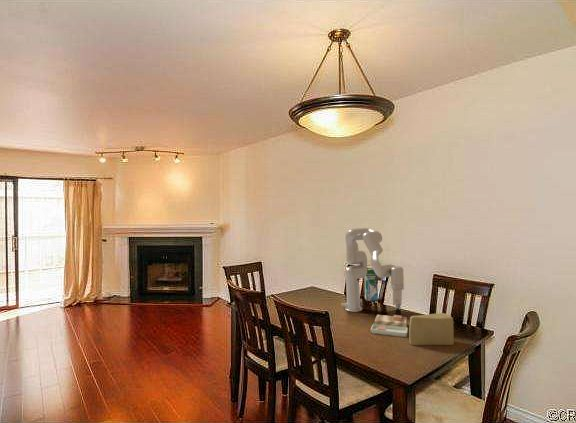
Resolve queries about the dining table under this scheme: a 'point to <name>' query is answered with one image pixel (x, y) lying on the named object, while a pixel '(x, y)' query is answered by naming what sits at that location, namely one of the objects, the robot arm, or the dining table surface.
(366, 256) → the robot arm
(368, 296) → the milk carton
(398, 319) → the tile
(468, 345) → the dining table surface
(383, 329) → the tile
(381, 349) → the dining table surface
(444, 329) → the tan rounded block
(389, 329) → the tray
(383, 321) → the white food package
